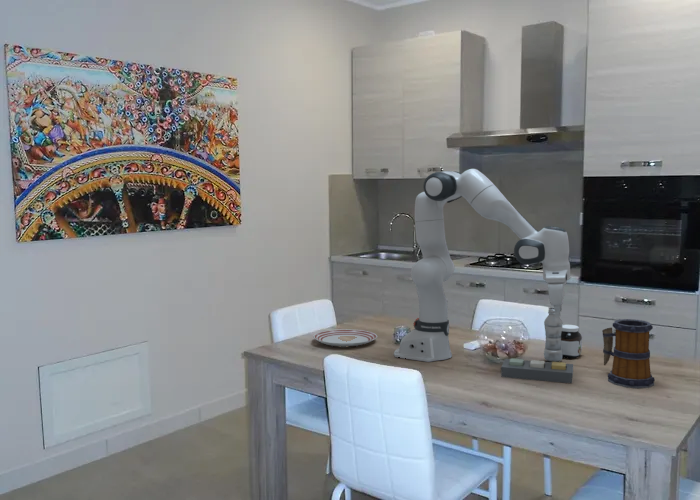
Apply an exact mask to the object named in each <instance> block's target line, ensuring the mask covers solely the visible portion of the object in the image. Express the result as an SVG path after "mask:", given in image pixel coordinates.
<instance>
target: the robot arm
mask: <svg viewBox="0 0 700 500" xmlns="http://www.w3.org/2000/svg"><path fill="white" fill-rule="evenodd" d="M460 198H463V199H464V200H466V201H467V203H468V204H469V205H470V206H471V208H472V209H474V211H475V212H476V213H477V214H478V215H480V216H481V217H482V218H485V219H486V220H491V221H495V222H499V223H502V224H503V225H505V226H507V227H508V228H509V229H510V231H512V232H513V233H514V234H515V235H516V236H517V237H518V238H519V240H518V241H517V242H516V243H515V245H514V247H513V248H514V249H513V253H514V254H513V255H514V257H515V259H516V260H517V262H518V263H520V264H523V265H526V266H528V265H529V266H531V265H534V264H540V263H541V264H542V277H543V278H542V280H544V281H545V284H547V291H548V292H547V293H548V298H549V302H550V303H549V304H550V306H552V307H553V308H554V313H555V317H560V318H561V312H562V305H563V301H564V297H565V285H566V284H567V283H568V282H567V281H568V280H571V263H570V258H569V255H570V242H569V241H570V240H569V236H568V232H567V231H566V229H565V228H563V227H560V226H549V225H548V226H544V227H543V228H542V229H541V230H538V229H536V227H534V225H532V223H531V222H529V221H528V220H527V219H526V218H525V216H523V215H522V214H521V213H520V211H518V210H517V209H516V207H514V206H513V205H512V203H510V201H509V200H508V199H507V198H506V196H505V195H504V194H503V193H502V192H501V191H500V189H499V188H498V187H497V186H496V185H495V184H494V182H492V180H490V179H489V178H488V177H487V176H486V175H485V174H484V173H483V172H481V171H480V170H478V169H477V168H470V169H466V170H464V171H463V172H462V173H461V172H459V171H455V170H454V171H452V170H444V171H436V172H433V173H430V174H429V175H428V176H427V177H426V178H425V179H424V182H423V191H422V192H420V193H418V195H416V197H415V202H414V225H415V236H416V237H415V238H416V243H417V245H418V246H419V248H420V251H421V254H422V255H421V256H422V258H421V259H419V260H418V261H417V262H415V263H414V264H413V266H412V267H411V269H410V278H411V280H412V282H413V283H414V285H415V288H416V293H417V297H418V298H417V299H418V317H417V318H416V319H415V321H414V322H413V329H412V330H411V331H409V332H408V333H407V334H406V335H404V336H403V337H402V338H401V340H400V343H399V347H398V348H397V349H395V350H394V351H393V356H394V357H395V358H398V357H400V359H405V358H406V359H407V360H413V361H420V362H426V363H431V362H435V361H443V360H448V359H451V358H452V357H453V354H452V350H451V346H450V340H449V338H450V337H449V334H450V320H449V319H448V318H449V316H448V315H449V312H448V310H449V309H448V308H449V306H448V305H449V303H448V302H449V301H448V298H447V297H446V294H445V290H444V282H446V281H448V280H449V279H450V278H451V277H452V275H453V274H454V272H455V263H454V261H453V260H452V258H451V255H450V252H449V248H448V244H447V241H446V240H447V239H446V228H445V218H444V208H445V207H444V206H445V205H446V203H449V204H450V203H452V202H454V201H456V200H459V199H460Z"/></svg>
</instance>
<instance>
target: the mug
mask: <svg viewBox="0 0 700 500" xmlns="http://www.w3.org/2000/svg"><path fill="white" fill-rule="evenodd" d="M613 328H614V329H615V332H613ZM651 330H653V324H651V322H649V321H647V320H642V319H632V318H622V319H621V318H619V319H616V320H614V322H613V323H612V327H608V328H605V329H602V337H603V338H602V340H603V349H602V350H603V351H602V353H603V366H607V364H608V362H609V360H610V358H611V356H612V357H613V359H612V365H611V366H612V367H611V370H610V371H609V373H608V374H607V381H608V382H609V383H611V384H612V385H614V386H619V387H621V388H622V387H623V388H626V389H627V388H629V389H630V388H631V389H637V390H640V389H649V388H652V387H655V380H656V379H655V377H653V375H652V373H651V362H650V358H651V351H650V332H651ZM614 339H615V342H614ZM614 344H615V345H614Z"/></svg>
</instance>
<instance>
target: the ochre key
mask: <svg viewBox="0 0 700 500" xmlns="http://www.w3.org/2000/svg"><path fill="white" fill-rule="evenodd" d="M566 364H567V363H566V362H562V361H559V362H552V369H559V370H566Z"/></svg>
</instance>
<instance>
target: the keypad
mask: <svg viewBox="0 0 700 500" xmlns="http://www.w3.org/2000/svg"><path fill="white" fill-rule="evenodd" d="M510 359H511V358H505V359H504V361H503V362H502V365H501V366H500V376H501V377H500V378H508V379H521V380H530V381H531V380H532V381H543V382H551V383H562V384H573V379H574V378H573V377H574V364H573V363H566V370H559V369H552V362H550V361H545V366H544V368H536V367H530V363H531V360H526V359H524V365H523V366H513V365H509V361H510Z"/></svg>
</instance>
